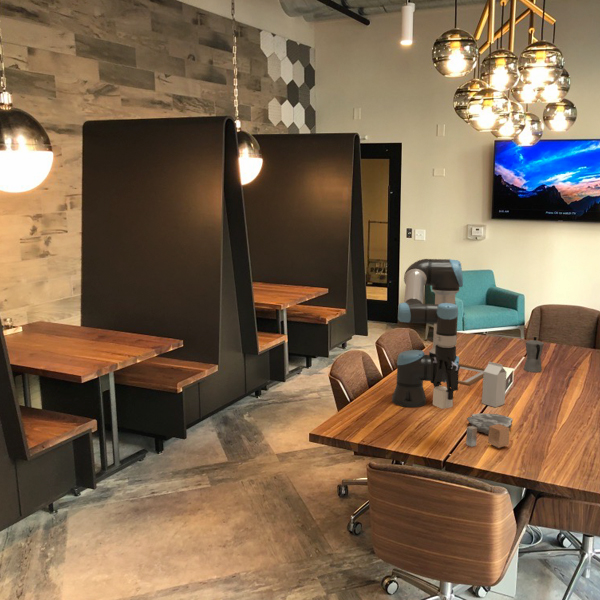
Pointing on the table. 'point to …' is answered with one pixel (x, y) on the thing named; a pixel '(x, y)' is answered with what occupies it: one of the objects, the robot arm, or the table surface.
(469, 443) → the post
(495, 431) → the tan brown block
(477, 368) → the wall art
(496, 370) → the milk carton
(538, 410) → the table surface
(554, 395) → the table surface
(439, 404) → the cream sugar cube
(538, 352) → the coffeepot
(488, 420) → the brain slice
